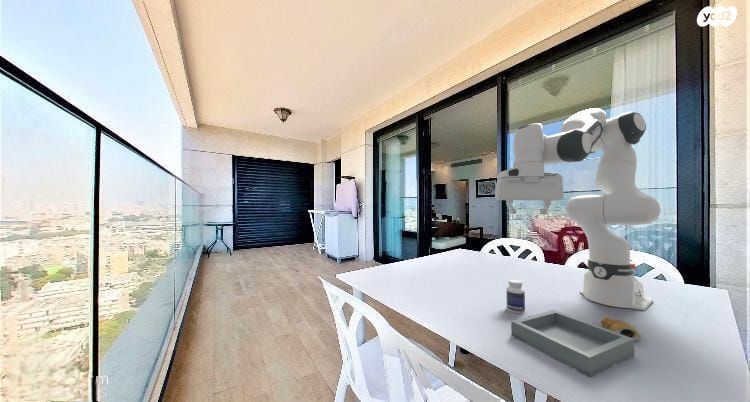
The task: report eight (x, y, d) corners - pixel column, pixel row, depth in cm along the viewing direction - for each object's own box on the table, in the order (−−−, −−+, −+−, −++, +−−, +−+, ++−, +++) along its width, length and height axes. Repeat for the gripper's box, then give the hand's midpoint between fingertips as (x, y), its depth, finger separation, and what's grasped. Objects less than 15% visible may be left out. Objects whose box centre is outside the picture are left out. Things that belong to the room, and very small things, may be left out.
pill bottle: (527, 314, 82) (527, 284, 82) (509, 313, 83) (509, 283, 83) (521, 307, 87) (521, 279, 87) (504, 306, 88) (504, 278, 88)
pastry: (593, 324, 76) (593, 311, 76) (621, 327, 74) (620, 313, 74) (613, 340, 67) (613, 325, 67) (645, 344, 65) (645, 329, 65)
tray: (553, 323, 76) (553, 309, 76) (634, 356, 59) (634, 338, 59) (511, 335, 69) (511, 320, 69) (589, 377, 52) (589, 357, 52)
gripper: (556, 173, 87) (556, 214, 86) (493, 173, 89) (493, 213, 89) (568, 171, 80) (568, 215, 80) (499, 171, 83) (499, 213, 83)
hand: (528, 214), depth 84 cm, fingers open, 8 cm apart
